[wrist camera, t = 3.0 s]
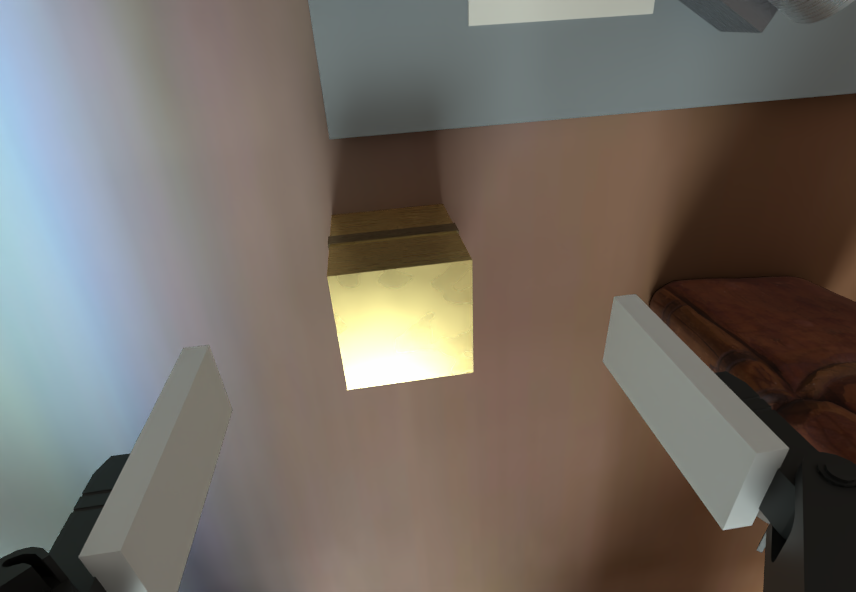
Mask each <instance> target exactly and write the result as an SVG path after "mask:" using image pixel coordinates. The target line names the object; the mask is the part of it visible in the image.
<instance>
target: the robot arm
mask: <svg viewBox="0 0 856 592" xmlns="http://www.w3.org/2000/svg"><path fill="white" fill-rule="evenodd" d="M603 363H604V364H605V365H606V367H607V368H608V370H609V371H610V372H611V374H612V375H613V377H614V378H615V379H616V381H617V382H618V384H619V385H620V387H621V388H622V389H623V391H624V392H625V394H626V395H627V396H628V398H629V399H630V401H631V402H632V403H633V405H634V406H635V408H636V409H637V410H638V412H639V413H640V415H641V416H642V417H643V419H644V420H645V422H646V423H647V425H648V426H649V427H650V429H651V430H652V432H653V433H654V434H655V436H656V437H657V439H658V440H659V441H660V443H661V444H662V446H663V447H664V448H665V450H666V451H667V453H668V454H669V455H670V457H671V458H672V460H673V461H674V462H675V464H676V465H677V467H678V468H679V470H680V471H681V472H682V474H683V475H684V477H685V478H686V479H687V481H688V482H689V484H690V485H691V486H692V488H693V489H694V491H695V492H696V493H697V495H698V496H699V498H700V499H701V500H702V502H703V503H704V505H705V506H706V508H707V509H708V510H709V512H710V513H711V515H712V516H713V517H714V519H715V520H716V522H717V523H718V524H719V526H720V527H721V529H722V530H727V529H733V528H739V527H745V526H751V525H752V524H753V522H754V520H755V518H756V516H757V514H758V512H759V510H760V511H761V512H762V513H763V515H764V516H765V517H766V518H767V519H768V521H769V522H770V524H769V526H768V528H767V530H766V532H765V534H764V535H763V537H762V539H761V541H760V543H759V546H758V548H757V551H759V552H763V550H764V548H765V567H764V587H763V592H856V464H854V463H853V462H851V461H850V460H847V459H845V458H843V457H840V456H838V455H835V454H830V453H825V452H819V451H818V450H816V449H815V448H814V447H813V446H812V445H811V444H810V443H809V442H808V441H807V440H806V439H805V438H804V437H803V436H802V435H801V434H799V433H798V432H797V431H796V430H795V429H794V428H793V427H792V426H791V425H790V424H789V423H788V422H787V421H786V420H785V419H784V418H783V417H782V416H781V415H779V414H778V413H777V412H776V411H775V410H772V408H771V406H770V405H769V404H768V403H767V402H766V401H765V400H764V399H761V398H760V396H759V395H758V394H757V393H756V392H755V391H754V390H753V389H752V388H751V387H750V386H749V385H748V384H747V383H746V382H744V381H742V380H741V379H739V378H737V377H735V376H734V375H732V374H730V373H728V372H727V371H724V372H717V373H714V372H713V371H712V370H711V369H710V368H709V367H708V366H707V365H706V364H705V363H704V362H703V361H702V360H701V359H700V358H699V357H698V356H697V355H696V354H695V353H694V352H693V351H692V350H691V349H690V348H689V347H688V346H687V345H686V344H685V343H684V342H683V341H682V340H681V339H680V338H679V337H678V336H677V335H676V334H675V333H674V332H673V331H672V330H671V329H670V328H669V327H668V326H667V325H666V324H665V323H664V322H663V321H662V320H661V319H660V318H659V317H658V316H657V315H656V314H655V313H654V312H653V311H652V310H651V309H650V308H649V307H648V306H647V305H646V304H645V303H644V302H643V301H642V300H641V299H640V298H639V297H638V296H637V295H636V294H633V295H625V296H616V297H614V299H613V305H612V311H611V317H610V322H609V328H608V334H607V340H606V346H605V351H604V357H603ZM231 413H232V407H231V405H230V402H229V399H228V396H227V393H226V391H225V388H224V385H223V382H222V380H221V377H220V374H219V371H218V369H217V366H216V363H215V360H214V358H213V355H212V352H211V349H210V346H209V345H205V346H197V347H188V348H183V350H182V352H181V354H180V356H179V358H178V360H177V362H176V364H175V366H174V368H173V370H172V372H171V374H170V376H169V378H168V380H167V382H166V384H165V386H164V388H163V390H162V392H161V394H160V396H159V398H158V400H157V402H156V404H155V406H154V408H153V410H152V412H151V414H150V416H149V418H148V420H147V422H146V423H145V425H144V427H143V429H142V431H141V433H140V435H139V437H138V439H137V441H136V443H135V445H134V447H133V449H132V451H131V453H130V454H123V455H116V456H111V457H110V458H109V459H108V460H107V461H106V462H105V463H104V464H103V465H102V466H101V467H100V468H99V469H98V470H97V471H96V472H95V473H94V474H93V475H92V477H91V479H90V480H89V482H88V484H87V486H86V488H85V489H84V491H83V493H82V494H83V496H82V497H80V498H79V500H78V502H77V504H76V505H75V507H74V512H73V513H71V514H70V516H69V518H68V520H67V521H66V523H65V525H64V527H63V529H62V530H61V532H60V534H59V536H58V537H57V539H56V541H55V543H54V545H53V546H52V548H51V550H50V552H49V554H48V553H47V552H46V551H45V550H44V549H43V548H37V547H29V548H25V549H21V550H17V551H15V552H13V553H11V554H9V555H7V556H5V557H3V558H1V559H0V592H178V589H179V585H180V582H181V579H182V576H183V572H184V569H185V566H186V562H187V559H188V556H189V552H190V549H191V546H192V542H193V539H194V536H195V532H196V529H197V526H198V523H199V519H200V516H201V513H202V509H203V506H204V503H205V499H206V496H207V493H208V489H209V486H210V483H211V480H212V476H213V473H214V470H215V466H216V463H217V460H218V456H219V453H220V450H221V446H222V443H223V440H224V436H225V433H226V430H227V427H228V423H229V420H230V417H231ZM765 546H766V547H765Z"/></svg>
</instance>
